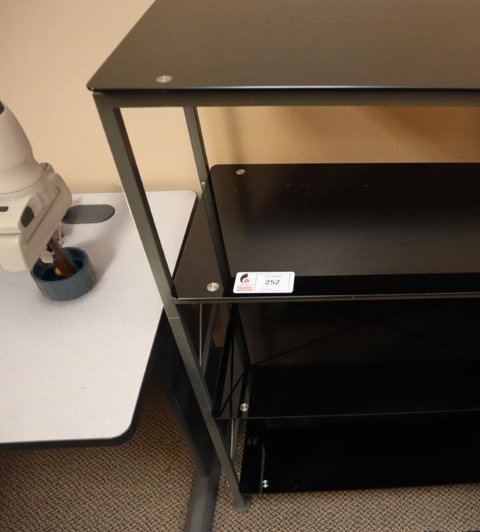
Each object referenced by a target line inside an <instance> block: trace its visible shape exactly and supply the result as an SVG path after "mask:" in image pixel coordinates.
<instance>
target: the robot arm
mask: <svg viewBox="0 0 480 532" xmlns="http://www.w3.org/2000/svg"><path fill="white" fill-rule="evenodd" d="M72 203H73V195H72V192H71V190H70V188H69V186H68V185H67V183H66V182H65V180H64V178H63V177H62V176H61V175H60V174H59V173H57V172H56V171H55V169H54V167H53V165H52V164H51V163H49V162H46V161H45V162H40V163H39V162H38V161H37V159H36V158H35V156H34V151H33V146H32V144H31V142H30V139H29V138H28V136H27V134H26V132H25V130H24V128H23V126H22V125H21V123H20V122H19V120H18V118H17V117H16V115H15V114H14V112H13V111H12V110H11V109H10V108H9V107H8V106H7V104H5V102H4V101H2V100H1V99H0V268H2V269H3V271H5V272H10V273H30V271H31V270H32V269H33V267H34V265H35V263H36V262H37V260H38V258H39V257H40V258H41V260H42V261H43V262H44V263H53V261H54V259H55V257H56V255H55V253H54V251H53V250H49V251H47V250H46V249H47V246H46V245H47V243H48V242H49V240H50V238H51V237H52V236H53V238H54V239H55V241H56V242H57V244H58V245H59V247H60V248H61V247H63V245H64V244H65V243H64V240H63V238H61V232H62V229H61V224H60V223H61V222H62V220H63V218H65V217H64V215H65V213H66V214H67V211H68V210H69V208H70V206H71V205H72ZM65 216H66V215H65Z"/></svg>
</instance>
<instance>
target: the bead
mask: <svg viewBox="0 0 480 532" xmlns="http://www.w3.org/2000/svg"><path fill="white" fill-rule="evenodd" d="M55 275H56V276H57V277H59V278H64V277H63V276H62V274H61V273H60V271H59V270H58V268H56V269H55Z"/></svg>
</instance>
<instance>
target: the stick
mask: <svg viewBox="0 0 480 532" xmlns="http://www.w3.org/2000/svg"><path fill="white" fill-rule="evenodd" d="M46 246H47V249H46V250H47V251H49V250H53V251H54V253H55V255H56V257H55V259H54V261H53V262H54V264H55V265H56V267H57V268H58V270H59V271H60V273H61V274H62V276H63V277H64V279H65V278H68V277H70V276H72V275H74V274H76V271H75V270H74V268H73V267H72V265H71V264H70V262H69V261H68V259H67V258H66V256H65V255H64V253H63V251H62V250H61V248H60V247H59V245H58V244H57V242H56V241H55V239H54V238H53V236H52V237H51V238H50V240H49V242H48V243H47V245H46Z"/></svg>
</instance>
